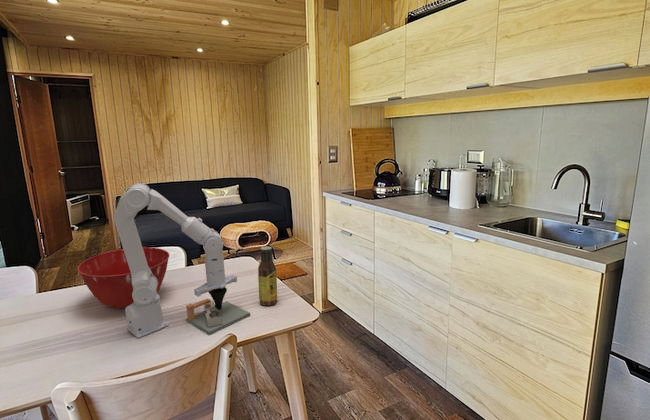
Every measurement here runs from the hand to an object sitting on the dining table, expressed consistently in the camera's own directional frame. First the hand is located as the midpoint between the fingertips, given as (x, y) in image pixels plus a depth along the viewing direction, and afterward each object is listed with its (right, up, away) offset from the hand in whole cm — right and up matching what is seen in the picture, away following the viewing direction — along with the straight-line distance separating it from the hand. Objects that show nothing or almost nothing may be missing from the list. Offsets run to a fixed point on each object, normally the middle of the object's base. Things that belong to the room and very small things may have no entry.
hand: (218, 308), depth 121 cm
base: (+1, -3, -2) cm, 3 cm away
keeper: (-6, -3, -1) cm, 6 cm away
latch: (-1, -2, -3) cm, 4 cm away
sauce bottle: (+15, 0, +8) cm, 17 cm away
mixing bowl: (-35, 0, +12) cm, 37 cm away
